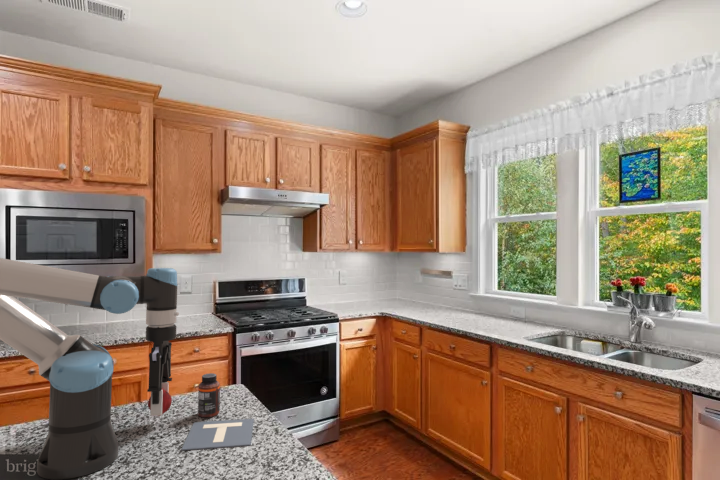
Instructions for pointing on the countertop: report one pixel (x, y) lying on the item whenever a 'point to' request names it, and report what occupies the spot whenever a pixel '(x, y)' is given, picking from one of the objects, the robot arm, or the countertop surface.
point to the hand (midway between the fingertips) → (159, 410)
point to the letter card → (219, 434)
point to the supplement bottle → (209, 396)
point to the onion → (165, 403)
